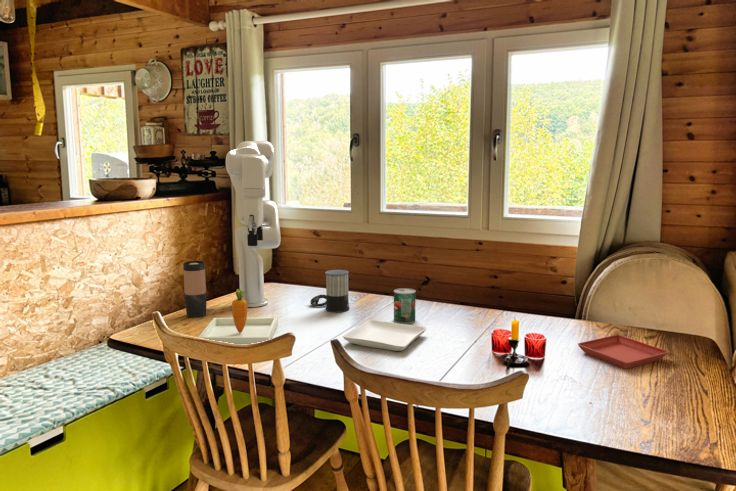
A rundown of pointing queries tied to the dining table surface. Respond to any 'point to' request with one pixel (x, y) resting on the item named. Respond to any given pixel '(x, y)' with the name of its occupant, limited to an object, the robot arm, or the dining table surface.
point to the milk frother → (335, 292)
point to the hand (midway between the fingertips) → (255, 243)
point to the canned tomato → (404, 305)
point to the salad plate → (384, 335)
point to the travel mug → (195, 288)
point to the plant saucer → (622, 351)
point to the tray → (252, 331)
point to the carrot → (239, 311)
